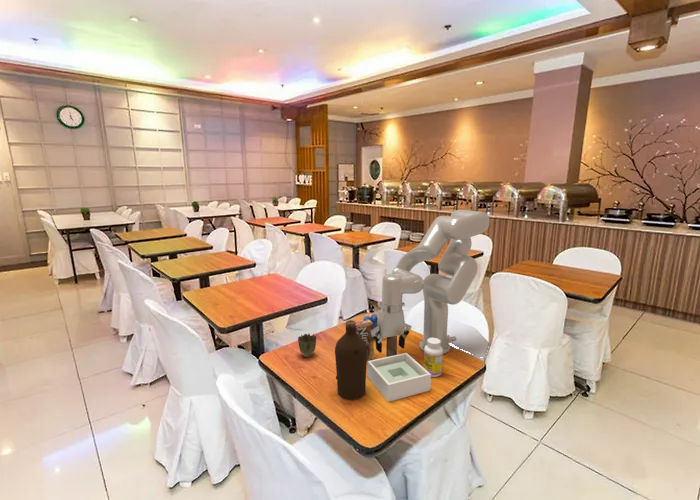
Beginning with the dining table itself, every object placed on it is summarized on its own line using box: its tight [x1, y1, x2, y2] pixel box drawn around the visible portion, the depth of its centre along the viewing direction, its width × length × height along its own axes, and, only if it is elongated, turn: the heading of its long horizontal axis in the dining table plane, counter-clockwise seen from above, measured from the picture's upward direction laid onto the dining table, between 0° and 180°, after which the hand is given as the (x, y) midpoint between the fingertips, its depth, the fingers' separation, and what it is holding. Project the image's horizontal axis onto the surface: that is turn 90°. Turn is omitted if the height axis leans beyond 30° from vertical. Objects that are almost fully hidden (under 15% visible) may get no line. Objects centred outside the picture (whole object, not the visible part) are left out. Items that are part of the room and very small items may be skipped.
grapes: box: [362, 313, 378, 336], centre depth 158 cm, size 12×7×12 cm, turn 93°
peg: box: [385, 336, 398, 357], centre depth 138 cm, size 4×4×12 cm
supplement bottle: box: [422, 338, 444, 378], centre depth 130 cm, size 7×7×13 cm
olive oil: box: [334, 319, 367, 401], centre depth 118 cm, size 11×11×25 cm
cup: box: [297, 333, 317, 358], centre depth 144 cm, size 8×7×8 cm
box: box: [366, 352, 432, 403], centre depth 124 cm, size 16×16×6 cm
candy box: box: [355, 320, 375, 361], centre depth 140 cm, size 9×4×15 cm, turn 116°
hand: (390, 349), depth 138 cm, fingers open, 9 cm apart
